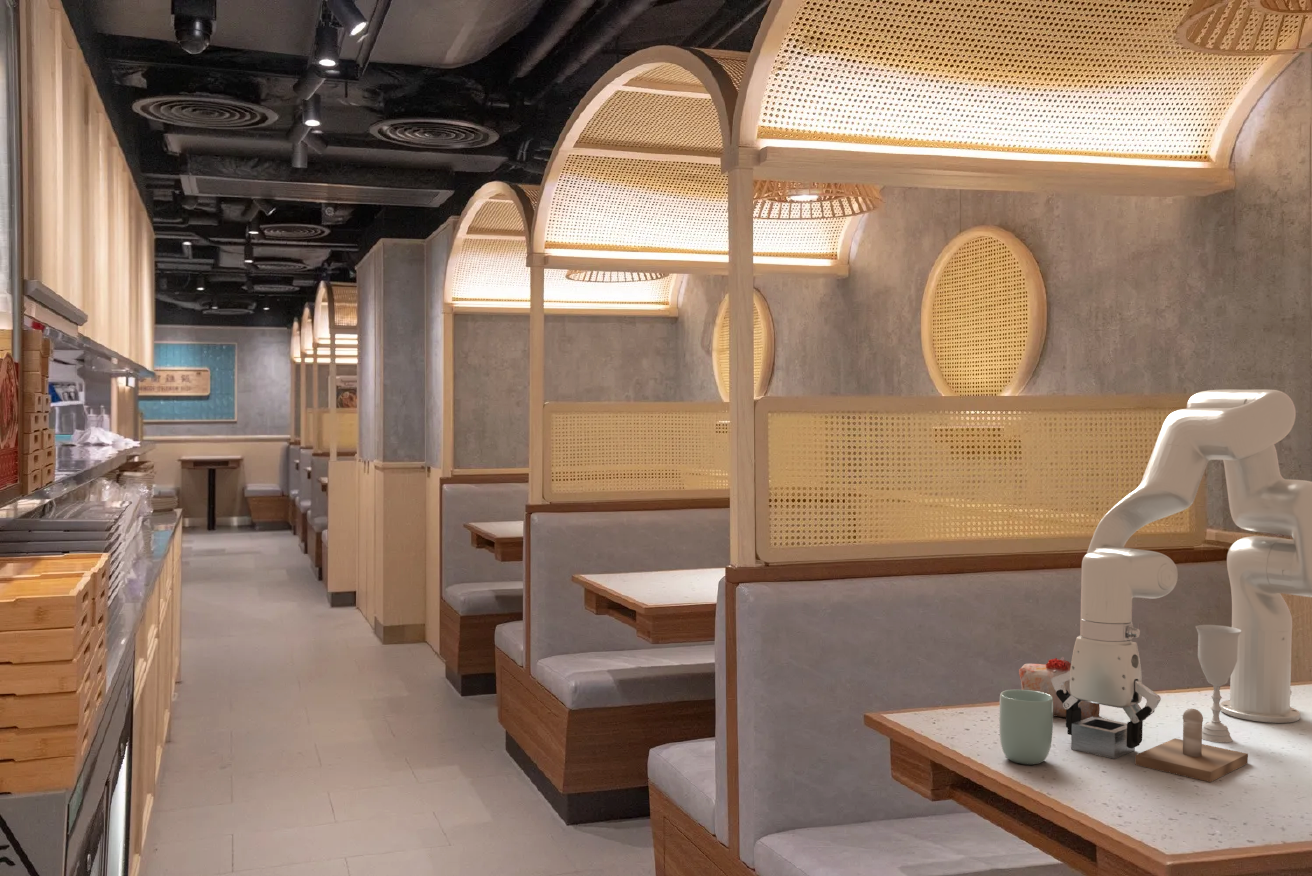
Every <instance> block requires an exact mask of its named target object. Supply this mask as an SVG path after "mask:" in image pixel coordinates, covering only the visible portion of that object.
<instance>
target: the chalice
mask: <svg viewBox="0 0 1312 876" xmlns="http://www.w3.org/2000/svg"><path fill="white" fill-rule="evenodd" d="M1195 629H1196V632H1197V634H1198V635H1197V636H1198V637H1197V638H1198V639H1197V640H1198V641H1197V658H1198V661H1199V664H1200V667H1201V670H1202V672H1203V674H1204V677H1205V679H1206V681H1207V683H1209V684H1211V685H1212V687H1213V693H1212V695H1211V699H1212V702H1213V703H1212V706H1211V707H1210V710H1211V711H1212V718H1211V719H1210V721H1207V722H1206V723H1205V724H1204V725H1203V726H1202V740H1205V741H1209V742H1214V743H1231V742H1232V741H1233V738H1232V737H1231V733H1230V731H1229V728H1228V726H1227V725H1226V724H1225V723H1222V721H1221V720H1220V713H1221V712H1222V711H1221V710H1222V709H1221V707H1220V703H1221V700H1222V699H1223V697H1222V696H1221V692H1220V689H1221V686H1224V685H1226V684H1227V683H1228V681H1229V679H1231V674H1232V672H1233V670H1234V668H1235V665H1236V663H1237V655H1238V636H1239V635H1240V633H1241V630H1240V629H1237V628H1233V627H1232V626H1227V625H1218V624H1217V625H1216V624H1199V625H1195Z"/></svg>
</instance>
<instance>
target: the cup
mask: <svg viewBox="0 0 1312 876" xmlns="http://www.w3.org/2000/svg"><path fill="white" fill-rule="evenodd" d="M998 711H999V713H998V715H999V716H998V717H999V718H998V722H999V724H998V725H999V727H998V728H999V730H998V731H999V741H1000V746H1001V750H1002V752H1003V754H1004V756H1005V757H1006V758H1007V759H1008V760H1010V762H1014V763H1017V764H1021V765H1038V764H1042V763H1043V762H1044V761H1045V760H1046V759H1047V757H1048V756H1049V754H1050V751H1051V747H1052V741H1053V728H1054V716H1053V697H1052V696H1051V695H1049V694H1047V693H1043V692H1038V691H1031V690H1021V689H1006V690H1003V691H1001V692H1000V695H999V710H998Z"/></svg>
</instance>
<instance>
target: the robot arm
mask: <svg viewBox="0 0 1312 876" xmlns="http://www.w3.org/2000/svg"><path fill="white" fill-rule="evenodd" d="M1296 411H1297V410H1296V406H1295V404H1294V401H1293V400H1292V399H1291V397H1290V396H1289V395H1288V394H1287V393H1285V392H1284V391H1281V390H1278V389H1262V388H1261V389H1234V388H1233V389H1231V388H1230V389H1208V390H1203V391H1199V392H1196V393H1195V394H1193V395H1192V396H1190V398H1189V399H1188V401H1187V403H1186V408H1180V409H1177V410H1175V411H1172V412H1171V413H1170V414H1168V416H1166V418H1165V419H1164V420H1163V423H1162V426H1161V429H1160V430H1159V433H1158V436H1157V438H1156V440H1155V444H1154V447H1153V450H1152V452H1151V455H1150V458H1149V460H1148V463H1147V466H1146V468H1145V470H1144V473H1143V476H1142V479H1141V482H1140V483H1139V484H1138V486H1137V487H1136V488H1135V489H1134V490H1132V491H1131V492H1130V493H1128V494H1127V495H1126V496H1125V497H1123V498H1122V499H1121V500H1119V501H1118V502H1117V503H1116V504H1115V505H1114V506H1112V507H1111V509H1110V510H1108V512H1107V513H1106V514H1104V515H1103V517H1102V518H1101V519H1100V521H1099V522H1098V524H1097V526H1096V528H1095V530H1094V531H1093V535H1092V538H1091V540H1090V543H1089V545H1088V548H1087V551H1086V554H1085V555H1084V556H1083V557H1082V561H1081V580H1080V582H1081V583H1080V584H1081V585H1080V590H1081V591H1080V621H1079V622H1080V626H1079V627H1080V629H1079V631H1080V632H1079V633H1080V634H1079V635H1078V636H1077V637H1076V639H1075V642H1074V646H1073V651H1072V656H1071V661H1070V663H1071V669H1070V672H1067V673H1064V674H1062V675H1059V676H1056V677H1053V678H1052V679H1051V682H1052V684H1053V686H1054V689H1055V690H1056V695H1057V697H1058V698H1059V699H1060V700H1061V702H1062V703H1063V707H1064V708H1065V709H1066V717H1065V726H1066V727H1065V728H1067V729H1066V730H1067V735H1069V736H1072V723H1075V722H1078V721H1081V707H1078V704H1079V703H1080V702H1081V701H1086V702H1091V703H1096V704H1099V705H1103V706H1107V707H1113V708H1117V709H1122V710H1123V711H1124V712H1125V713H1126V715H1127V716H1128V718H1129V720H1130V721H1128V722H1127V747H1128V748H1134V747H1135V748H1136V747H1139V746H1140V744H1141V743H1142V741H1143V726H1144V724H1143V722H1144V721H1145V720H1146V719H1147V718H1148V717H1150V716H1152V714H1153V713H1155V710H1156V709H1157V707H1158V706H1159V703H1160V702H1161V701H1162V700H1161V699H1162V698H1161V696H1160V695H1159V694H1157V693H1156V692H1155V691H1153V690H1152V689H1150V687H1147V685H1145V684H1144V683H1143V682H1142V681H1143V678H1142V666H1141V658H1140V653H1139V649H1138V648H1139V647H1138V643H1137V642H1136V641H1132V640H1133V638H1139V637H1140V635H1141V630H1140V628H1136V627H1134V623H1133V621H1132V620H1133V619H1132V618H1133V613H1132V612H1133V599H1134V598H1142V599H1159V598H1162V597H1165V596H1167V595H1169V594H1170V593H1171V592H1172V591H1173V590H1174V589H1175V588H1176V585H1177V582H1178V580H1179V579H1178V577H1179V572H1178V567H1177V565H1176V563H1175V562H1174V560H1172V559H1171V557H1169V556H1167V555H1166V554H1164V553H1161V552H1158V551H1153V550H1145V549H1138V548H1130V547H1125V546H1126V544H1127V542H1128V540H1129V539H1130V538H1131V537H1132V536H1133V535H1134V534H1135V533H1136V532H1138V530H1140V529H1141V528H1143V527H1145V526H1146V525H1148V524H1151V523H1154V522H1155V521H1159V520H1162V519H1164V518H1167V517H1169V516H1172V515H1176V514H1178V513H1180V512H1183V511H1185V510H1187V509H1189V508H1190V507H1192V505H1193V503H1194V501H1195V499H1196V496H1197V494H1198V490H1199V487H1200V484H1201V481H1202V479H1203V476H1204V473H1205V470H1206V468H1207V466H1208V463H1209V462H1210V461H1212V460H1213V461H1214V460H1216V461H1217V460H1218V461H1222V462H1223V466H1224V474H1225V482H1226V490H1227V498H1228V506H1229V512H1230V515H1231V519H1232V521H1233V523H1234V524H1235V526H1236V527H1239V528H1240V529H1242V530H1245V531H1250V532H1257V533H1267V534H1268V533H1269V534H1277V535H1286V536H1291V537H1292V539H1290V538H1289V539H1287V538H1281V537H1273V536H1272V537H1271V536H1260V535H1259V536H1258V535H1252V536H1246V537H1245V536H1244V537H1241V538H1239V539H1237V540H1235V541H1234V543H1232V544H1231V545H1230V547H1229V548H1228V551H1227V554H1226V567H1227V573H1228V578H1229V579H1228V580H1229V584H1230V592H1231V627H1233V628H1237V629H1240V630H1241V633H1240V635H1239V636H1238V655H1237V663H1236V665H1235V668H1234V670H1233V672H1232V674H1231V676H1230V678H1229V679H1230V681H1229V682H1230V683H1229V685H1230V686H1229V690H1230V691H1229V692H1230V693H1229V699H1228V700H1224V701H1222V702H1220V703H1219V705H1220V707H1221V709H1222V710H1221V711H1220V712H1222V713H1224V714H1225V715H1228V716H1230V717H1232V718H1233V717H1234V718H1238V719H1242V720H1248V721H1253V722H1260V723H1270V724H1271V723H1273V724H1274V723H1276V724H1279V723H1280V724H1284V723H1294V722H1297V721H1298V720H1300V719H1301V713H1300V711H1299V710H1297V709H1296V708H1294V707H1291V696H1292V689H1291V684H1292V683H1291V682H1292V681H1291V680H1292V679H1291V678H1292V677H1291V676H1292V675H1291V673H1292V639H1293V637H1292V636H1293V635H1292V633H1293V617H1292V614H1291V611H1290V608H1289V606H1288V604H1287V602H1286V601H1285V599H1284V597H1283V595H1282V594H1284V595H1292V596H1298V597H1307V598H1312V481H1311V480H1304V479H1303V480H1302V479H1291V478H1290V479H1286V478H1284V477H1283V475H1282V474H1281V470H1280V465H1279V460H1278V459H1279V458H1278V453H1277V449H1276V445H1275V444H1277V443H1279V442H1280V441H1282V440H1284V438H1285V437H1287V435H1288V434H1290V432H1291V431H1292V429H1293V427H1294V424H1295V421H1296ZM1069 680H1070V694H1071V695H1070V694H1069V692H1068V691H1067V690H1066V689H1065V686H1064V683H1065V682H1066V681H1069ZM1142 699H1145V700H1146V703H1145V706H1144V707H1141V706H1140V703H1142Z"/></svg>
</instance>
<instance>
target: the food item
mask: <svg viewBox="0 0 1312 876" xmlns="http://www.w3.org/2000/svg"><path fill="white" fill-rule="evenodd" d="M1070 669H1071V662H1070V661H1068V660H1066V659H1065V657H1064V656H1062V657H1060V659H1059V658H1057V657H1055V658H1051V659H1048V662H1046V664H1042V663H1025V664H1023V665H1022V666H1021V667H1020V668H1019V669H1018V675H1019V680H1020V684H1021V685H1020V686H1021V689H1020V690H1031V691H1038V692H1043V693H1047V694H1049V695H1051V696H1052V697H1053V717H1060V718H1066V709H1065V708H1064V707H1063V703H1062V702H1061V700H1060V699H1059V698H1058V697H1057V695H1056V690H1055V689H1054V686H1053V684H1052V682H1051V679H1052V678H1053V677H1056V676H1059V675H1062V674H1064V673H1067V672H1070ZM1064 686H1065V689H1066V690H1067V691H1068V692H1069V694H1070V680H1069V681H1066V682H1065V683H1064ZM1070 695H1071V694H1070ZM1078 707H1081V720H1084V719H1087V718H1090V717H1092V716H1093V717H1098V718H1100V708H1101V707H1100V704H1096V703H1091V702H1086V701H1081V702H1080V703H1079V704H1078Z"/></svg>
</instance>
